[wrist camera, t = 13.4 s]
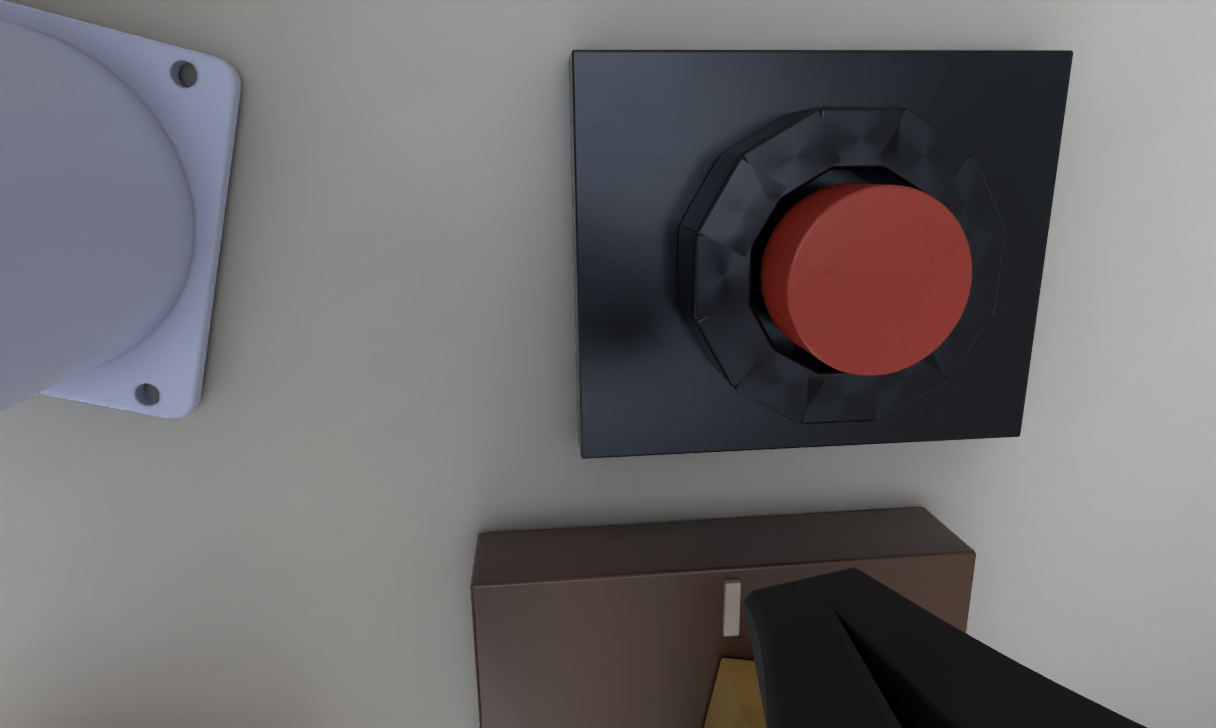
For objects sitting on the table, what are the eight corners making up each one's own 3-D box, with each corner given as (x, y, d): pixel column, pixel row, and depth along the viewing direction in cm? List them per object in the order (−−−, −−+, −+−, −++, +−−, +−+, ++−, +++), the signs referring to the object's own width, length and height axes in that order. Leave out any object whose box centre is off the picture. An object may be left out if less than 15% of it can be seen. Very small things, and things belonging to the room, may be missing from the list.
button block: (578, 441, 19) (586, 491, 16) (568, 57, 16) (577, 34, 14) (992, 421, 20) (1070, 465, 17) (1038, 58, 17) (1139, 36, 15)
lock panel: (497, 844, 22) (492, 934, 19) (477, 532, 19) (469, 589, 17) (892, 805, 23) (938, 886, 20) (924, 505, 20) (981, 555, 18)
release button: (755, 357, 16) (783, 380, 14) (763, 184, 15) (792, 186, 13) (917, 351, 16) (962, 372, 15) (934, 181, 15) (984, 183, 14)
